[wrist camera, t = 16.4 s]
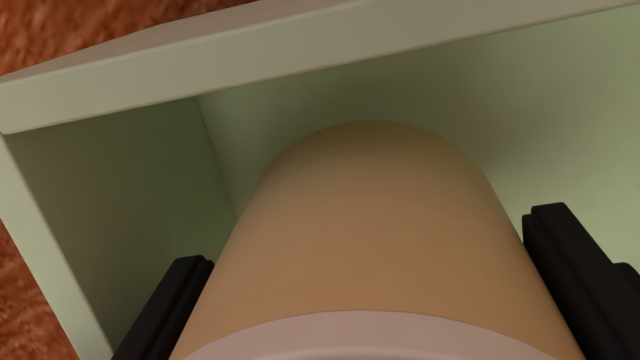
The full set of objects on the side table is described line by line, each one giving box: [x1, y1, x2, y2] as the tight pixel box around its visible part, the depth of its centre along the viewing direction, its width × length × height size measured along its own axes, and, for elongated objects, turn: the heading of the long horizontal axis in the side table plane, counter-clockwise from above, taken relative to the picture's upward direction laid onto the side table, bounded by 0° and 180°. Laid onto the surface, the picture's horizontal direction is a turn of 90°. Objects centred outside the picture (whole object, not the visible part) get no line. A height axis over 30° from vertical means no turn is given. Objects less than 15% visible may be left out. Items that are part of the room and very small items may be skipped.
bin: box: [0, 0, 640, 360], centre depth 13 cm, size 16×16×9 cm
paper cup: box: [169, 121, 586, 360], centre depth 9 cm, size 7×7×7 cm
